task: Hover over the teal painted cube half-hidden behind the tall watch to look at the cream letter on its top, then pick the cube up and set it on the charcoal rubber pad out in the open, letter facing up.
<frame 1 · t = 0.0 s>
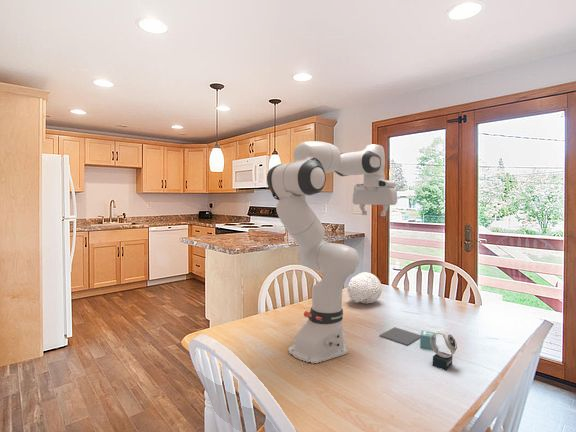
hand: (373, 215, 144), 48 cm above the table, tool pointing down, fingers open, 8 cm apart
watch: (442, 365, 111), on the table
letter cube: (427, 347, 125), on the table
cauliflower: (365, 305, 174), on the table
pad: (400, 336, 134), on the table
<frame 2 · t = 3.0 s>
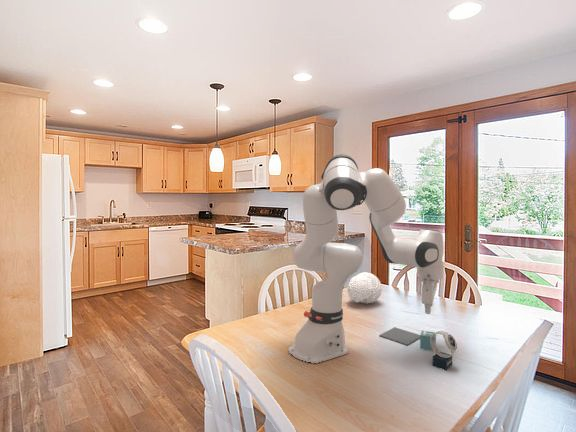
hand: (428, 309, 124), 14 cm above the table, tool pointing down, fingers open, 8 cm apart
nothing on the table moved.
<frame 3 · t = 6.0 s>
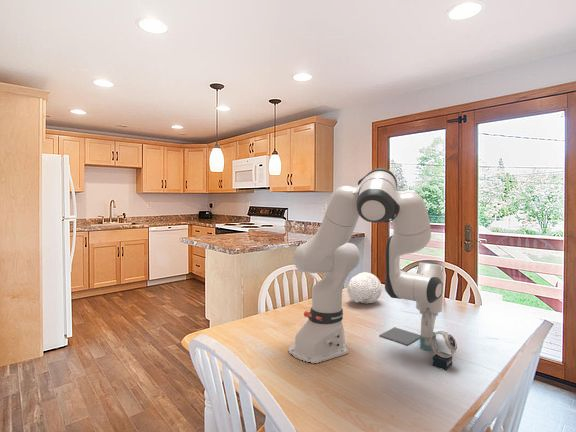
hand: (428, 341, 125), 2 cm above the table, tool pointing down, fingers closed on letter cube, 5 cm apart
letter cube: (428, 346, 125), on the table, touching gripper
everything else where it was.
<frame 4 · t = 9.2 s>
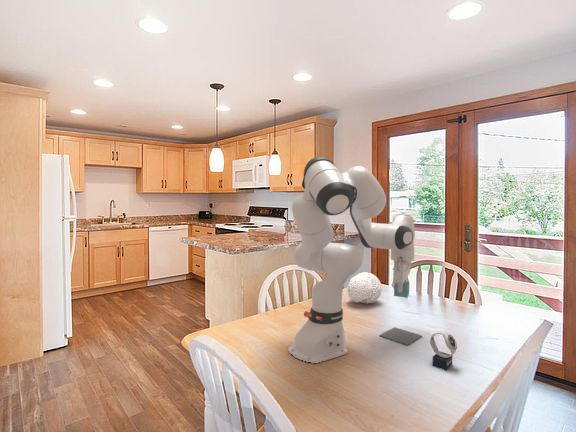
hand: (401, 289, 133), 19 cm above the table, tool pointing down, fingers closed on letter cube, 5 cm apart
letter cube: (401, 295, 133), point 17 cm above the table, touching gripper
everything else where it was.
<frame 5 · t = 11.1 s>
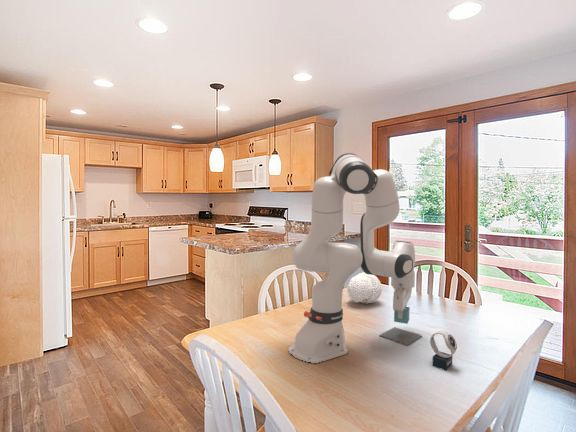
hand: (401, 315, 133), 9 cm above the table, tool pointing down, fingers closed on letter cube, 5 cm apart
letter cube: (401, 320, 133), point 7 cm above the table, touching gripper
everything else where it was.
when the fingers open (4 cm above the table, at t = 12.5 s): letter cube drops 1 cm, resting on pad.
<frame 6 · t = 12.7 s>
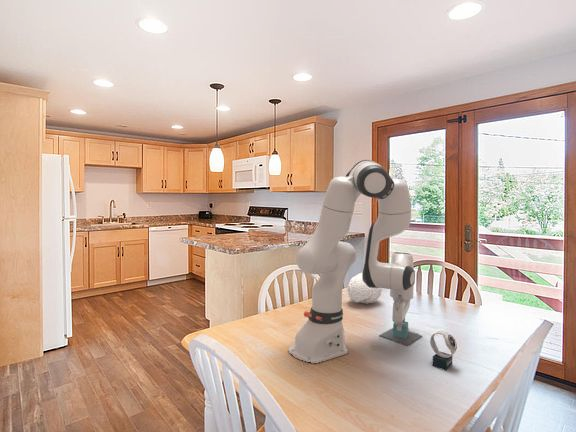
hand: (400, 326, 134), 4 cm above the table, tool pointing down, fingers open, 7 cm apart
letter cube: (400, 335, 134), resting on pad
everything else where it was.
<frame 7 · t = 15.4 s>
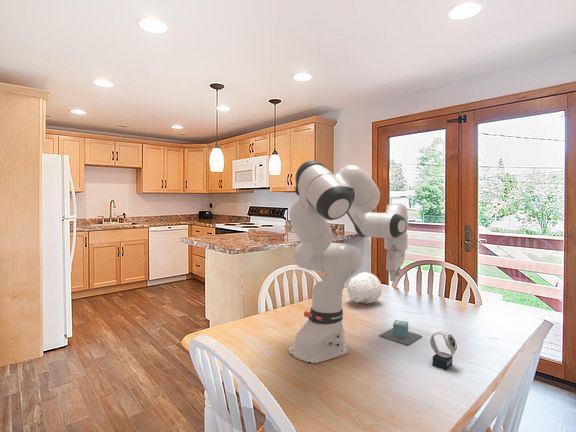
hand: (395, 278, 135), 23 cm above the table, tool pointing down, fingers open, 8 cm apart
nothing on the table moved.
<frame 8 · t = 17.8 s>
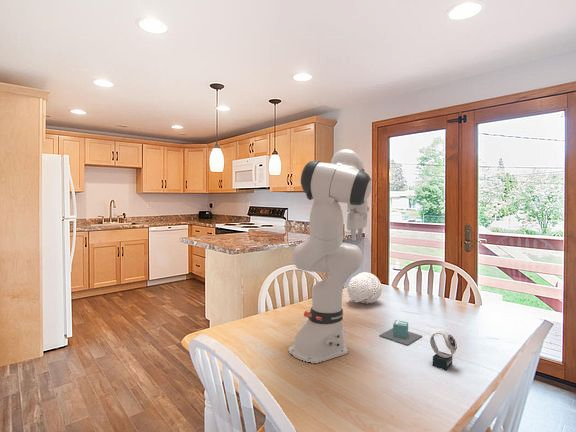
hand: (357, 239, 150), 37 cm above the table, tool pointing down, fingers open, 8 cm apart
nothing on the table moved.
at the end: letter cube inside the target area on the pad (0.1 cm from its centre), point 0.5 cm above the pad's base; letter cube tilted 0°; watch moved 0.2 cm from its start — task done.
